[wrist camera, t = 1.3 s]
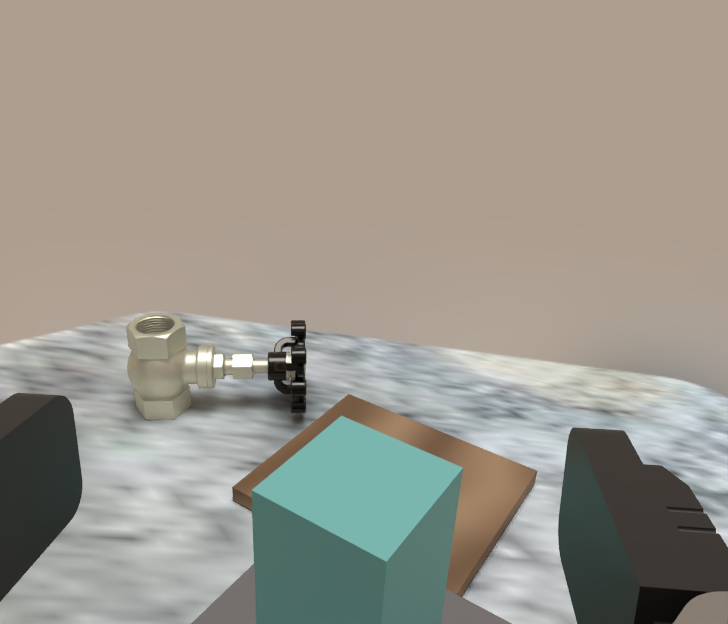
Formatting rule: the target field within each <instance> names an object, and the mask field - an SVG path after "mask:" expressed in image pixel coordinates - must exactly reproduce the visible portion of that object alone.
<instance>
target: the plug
mask: <svg viewBox="0 0 728 624" xmlns="http://www.w3.org/2000/svg"><path fill="white" fill-rule="evenodd" d="M462 473H463V467H460V466H458V465H456V464H453V463H451V462H449V461H446V460H444V459H442V458H439V457H437V456H435V455H432V454H430V453H428V452H425V451H423V450H421V449H418V448H416V447H414V446H411V445H409V444H407V443H404V442H402V441H400V440H397V439H395V438H393V437H390V436H388V435H386V434H383V433H381V432H379V431H376V430H374V429H372V428H369V427H367V426H364V425H362V424H360V423H357V422H355V421H353V420H350V419H348V418H346V417H343V416H340V417H339V418H338V419H337V420H336V421H334V422H333V423H332V424H331V425H330V426H328V427H327V428H326V429H325V430H324V431H322V432H321V433H320V434H319V435H317V436H316V437H315V438H314V439H313V440H311V441H310V442H309V443H308V444H307V445H305V446H304V447H303V448H302V449H301V450H299V451H298V452H297V453H296V454H295V455H293V456H292V457H291V458H290V459H289V460H287V461H286V462H285V463H284V464H283V465H281V466H280V467H279V468H278V469H277V470H275V471H274V472H273V473H272V474H270V475H269V476H268V477H267V478H266V479H264V480H263V481H262V482H261V483H260V484H258V485H257V486H256V487H255V488H254V489H252V517H253V545H254V573H255V602H256V624H441V619H442V612H443V605H444V598H445V591H446V584H447V577H448V570H449V563H450V556H451V549H452V542H453V535H454V528H455V521H456V514H457V507H458V500H459V493H460V486H461V480H462Z"/></svg>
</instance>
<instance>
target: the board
mask: <svg viewBox="0 0 728 624" xmlns="http://www.w3.org/2000/svg"><path fill="white" fill-rule="evenodd" d="M340 416H343V417H346V418H348V419H350V420H353V421H355V422H357V423H360V424H362V425H364V426H367V427H369V428H372V429H374V430H376V431H379V432H381V433H383V434H386V435H388V436H390V437H393V438H395V439H397V440H400V441H402V442H404V443H407V444H409V445H411V446H414V447H416V448H418V449H421V450H423V451H425V452H428V453H430V454H432V455H435V456H437V457H439V458H442V459H444V460H446V461H449V462H451V463H453V464H456V465H458V466H460V467H463V473H462V480H461V486H460V493H459V500H458V507H457V514H456V521H455V528H454V535H453V542H452V549H451V556H450V563H449V570H448V577H447V584H446V589H447V590H449V591H451V592H453V593H454V594H456V595H458V596H460V597H462V596H463V594H464V592H465V591H466V589H467V588H468V586H469V585H470V583H471V582H472V580H473V578H474V577H475V575H476V574H477V572H478V571H479V569H480V568H481V566H482V564H483V563H484V561H485V560H486V558H487V557H488V555H489V554H490V552H491V551H492V549H493V547H494V546H495V544H496V543H497V541H498V540H499V538H500V537H501V535H502V533H503V532H504V530H505V529H506V527H507V526H508V524H509V523H510V521H511V519H512V518H513V516H514V515H515V513H516V512H517V510H518V509H519V507H520V505H521V504H522V502H523V501H524V499H525V498H526V496H527V495H528V493H529V491H530V490H531V488H532V487H533V485H534V484H535V479H536V474H537V471H536V470H533V469H531V468H529V467H526V466H524V465H521V464H519V463H516V462H514V461H511V460H509V459H506V458H504V457H502V456H499V455H497V454H494V453H492V452H489V451H487V450H484V449H482V448H479V447H477V446H475V445H472V444H470V443H467V442H465V441H462V440H460V439H457V438H455V437H452V436H450V435H448V434H445V433H443V432H440V431H438V430H435V429H433V428H430V427H428V426H425V425H423V424H421V423H418V422H416V421H413V420H411V419H408V418H406V417H403V416H401V415H399V414H396V413H394V412H391V411H389V410H386V409H384V408H381V407H379V406H376V405H374V404H372V403H369V402H367V401H364V400H362V399H359V398H357V397H354V396H352V395H347V396H346V397H345V398H344V399H342V400H341V401H340V402H339V403H337V404H336V405H335V406H334V407H332V408H331V409H330V410H329V411H327V412H326V413H325V414H324V415H322V416H321V417H320V418H319V419H317V420H316V421H315V422H314V423H312V424H311V425H310V426H309V427H307V428H306V429H305V430H304V431H302V432H301V433H300V434H299V435H297V436H296V437H295V438H294V439H292V440H291V441H290V442H288V443H287V444H286V445H285V446H283V447H282V448H281V449H280V450H278V451H277V452H276V453H275V454H273V455H272V456H271V457H270V458H268V459H267V460H266V461H265V462H263V463H262V464H261V465H260V466H258V467H257V468H256V469H255V470H253V471H252V472H251V473H250V474H248V475H247V476H246V477H245V478H243V479H242V480H241V481H240V482H238V483H237V484H236V485H235V486H233V487H232V488H233V501H235V502H237V503H239V504H240V505H242V506H244V507H246V508H248V509H249V510H251V511H252V489H254V488H255V487H256V486H257V485H258V484H260V483H261V482H262V481H263V480H264V479H266V478H267V477H268V476H269V475H270V474H272V473H273V472H274V471H275V470H277V469H278V468H279V467H280V466H281V465H283V464H284V463H285V462H286V461H287V460H289V459H290V458H291V457H292V456H293V455H295V454H296V453H297V452H298V451H299V450H301V449H302V448H303V447H304V446H305V445H307V444H308V443H309V442H310V441H311V440H313V439H314V438H315V437H316V436H317V435H319V434H320V433H321V432H322V431H324V430H325V429H326V428H327V427H328V426H330V425H331V424H332V423H333V422H334V421H336V420H337V419H338V418H339V417H340Z"/></svg>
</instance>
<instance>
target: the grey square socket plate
mask: <svg viewBox="0 0 728 624" xmlns="http://www.w3.org/2000/svg"><path fill="white" fill-rule="evenodd" d="M191 624H256V602H255V573H254V564H253V565H252V566H251V567H250V568H249V569H248V570H247V571H246V572H245V573H244V574H243V575H242V576H241V577H240V578H238V579H237V580H236V581H235V582H234V583H233V584H232V585H231V586H230V587H229V588H228V589H227V590H226V591H225V592H224V593H223V594H222V595H221V596H220V597H219V598H218V599H217V600H215V601H214V602H213V603H212V604H211V605H210V606H209V607H208V608H207V609H206V610H205V611H204V612H203V613H202V614H201V615H200V616H199V617H198V618H197V619H196V620H195V621H194V622H192V623H191ZM441 624H511V623H509V622H508V621H506V620H504V619H502V618H500V617H498V616H496V615H494V614H492V613H490V612H489V611H487V610H485V609H483V608H481V607H479V606H477V605H475V604H473V603H471V602H470V601H468V600H466V599H464V598H462V597H460V596H458V595H456V594H454V593H453V592H451V591H449V590H447V589H446V591H445V598H444V605H443V612H442V619H441Z"/></svg>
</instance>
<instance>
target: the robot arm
mask: <svg viewBox="0 0 728 624" xmlns="http://www.w3.org/2000/svg"><path fill="white" fill-rule="evenodd" d="M81 494H82V475H81V467H80V460H79V452H78V444H77V436H76V429H75V421H74V413H73V408H72V405H71V403H70V401H69V400H68V399H67V398H66V397H65V396H60V395H43V394H27V393H17V394H14V395H12V396H10V397H9V398H8V399H6V400H5V401H3V402H2V403H0V601H1V600H2V599H3V598H4V597H5V596H6V595H7V593H8V592H9V591H10V590H11V589H12V588H13V586H14V585H15V584H16V583H17V582H18V581H19V580H20V578H21V577H22V576H23V575H24V574H25V573H26V572H27V570H28V569H29V568H30V567H31V566H32V565H33V563H34V562H35V561H36V560H37V559H38V558H39V557H40V555H41V554H42V553H43V552H44V551H45V550H46V549H47V547H48V546H49V545H50V544H51V543H52V542H53V540H54V539H55V538H56V537H57V536H58V535H59V534H60V532H61V531H62V530H63V529H64V528H65V527H66V525H67V524H68V523H69V522H70V521H71V519H72V518H73V517H74V515H75V513H76V511H77V509H78V506H79V503H80V499H81ZM558 536H559V550H560V557H561V562H562V566H563V570H564V574H565V577H566V581H567V585H568V589H569V593H570V597H571V601H572V605H573V608H574V612H575V616H576V620H577V624H728V547H727V546H726V544H725V542H724V541H723V539H722V538H721V536H720V535H719V534H716V528H715V527H714V525H713V524H712V522H711V520H710V519H709V517H708V516H707V514H704V513H703V508H702V506H701V505H700V503H699V501H698V500H697V498H696V497H695V495H694V494H693V492H692V490H691V489H690V487H689V486H688V485H687V484H685V483H684V482H683V481H681V480H680V479H679V478H677V477H676V476H675V475H673V474H672V473H671V472H669V471H668V470H667V469H665V468H664V467H663V466H659V465H644V464H643V463H642V461H641V460H640V458H639V456H638V454H637V452H636V450H635V449H634V447H633V445H632V443H631V441H630V439H629V438H628V436H627V434H626V433H625V432H624V431H622V430H605V429H589V428H572V430H571V432H570V434H569V439H568V445H567V453H566V462H565V470H564V479H563V487H562V496H561V504H560V513H559V528H558Z"/></svg>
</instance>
